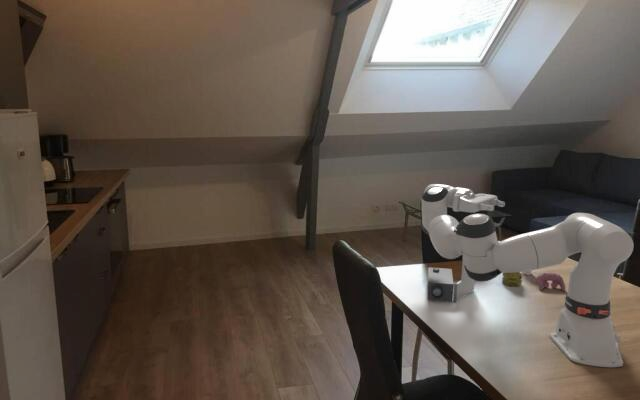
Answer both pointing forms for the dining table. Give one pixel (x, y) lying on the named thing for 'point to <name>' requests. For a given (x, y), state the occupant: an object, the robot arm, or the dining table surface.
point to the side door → (463, 285)
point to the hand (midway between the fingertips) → (498, 206)
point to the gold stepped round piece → (512, 279)
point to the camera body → (440, 284)
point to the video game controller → (552, 277)
